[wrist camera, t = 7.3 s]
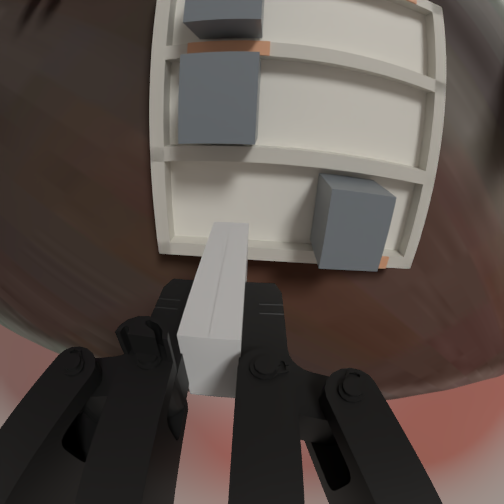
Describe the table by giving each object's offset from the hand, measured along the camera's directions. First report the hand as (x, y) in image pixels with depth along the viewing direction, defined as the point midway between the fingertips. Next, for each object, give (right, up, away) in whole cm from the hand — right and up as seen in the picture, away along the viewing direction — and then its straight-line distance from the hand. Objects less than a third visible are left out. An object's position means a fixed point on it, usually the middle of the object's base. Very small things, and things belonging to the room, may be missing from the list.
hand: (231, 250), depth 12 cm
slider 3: (+7, +3, +6) cm, 10 cm away
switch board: (+4, +10, +5) cm, 12 cm away
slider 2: (-1, +10, +3) cm, 10 cm away
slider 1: (0, +16, 0) cm, 16 cm away
